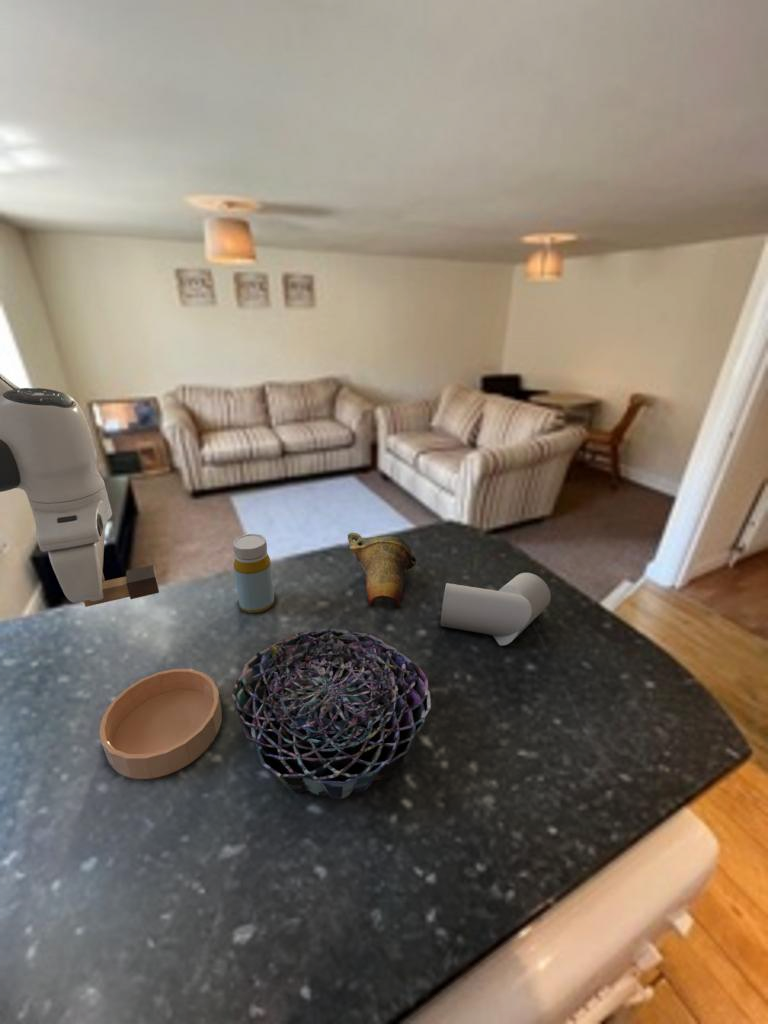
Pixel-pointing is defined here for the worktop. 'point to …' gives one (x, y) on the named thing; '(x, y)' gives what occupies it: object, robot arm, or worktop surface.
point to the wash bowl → (161, 723)
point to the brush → (129, 585)
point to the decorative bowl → (331, 709)
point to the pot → (383, 563)
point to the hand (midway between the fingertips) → (97, 591)
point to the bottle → (253, 573)
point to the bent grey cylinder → (496, 607)
